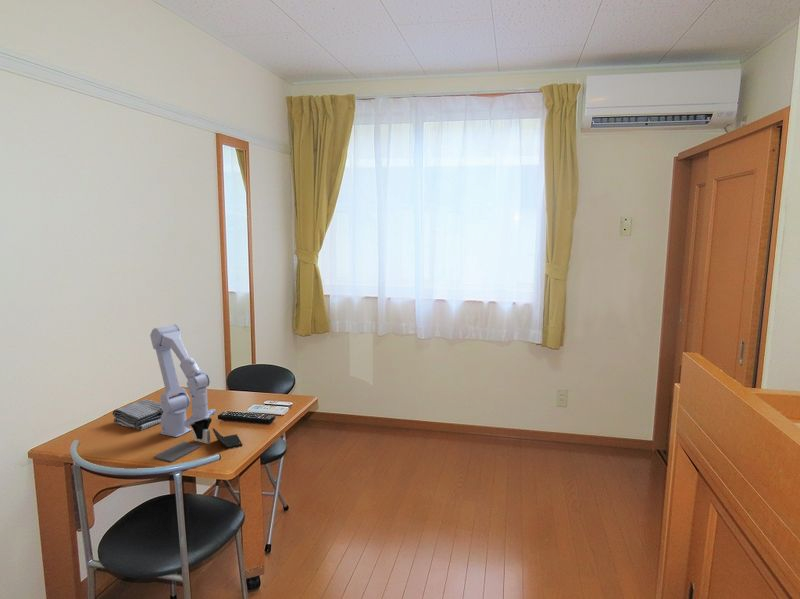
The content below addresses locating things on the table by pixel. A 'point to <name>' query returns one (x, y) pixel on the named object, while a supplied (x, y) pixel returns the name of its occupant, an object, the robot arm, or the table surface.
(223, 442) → the handheld gaming console
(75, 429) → the table surface
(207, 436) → the card deck
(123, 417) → the towel
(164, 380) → the robot arm
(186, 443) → the grey rectangular slab
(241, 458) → the table surface
